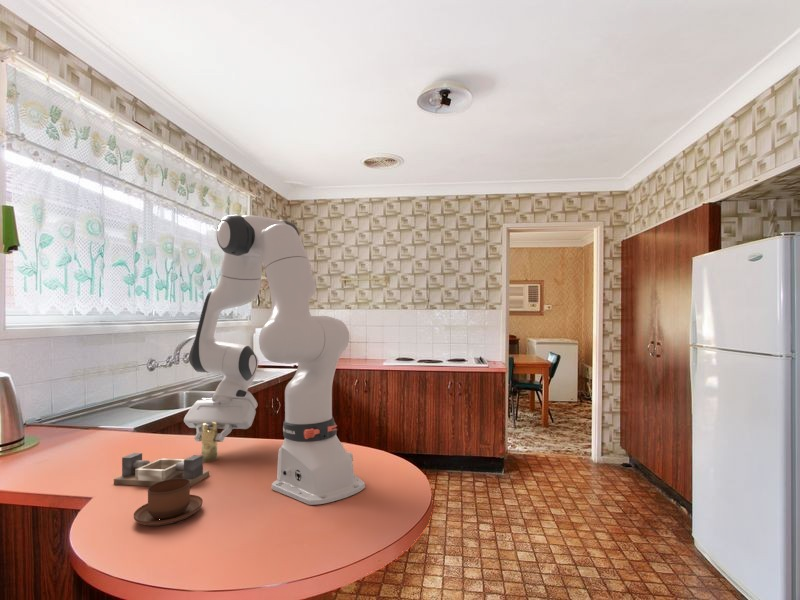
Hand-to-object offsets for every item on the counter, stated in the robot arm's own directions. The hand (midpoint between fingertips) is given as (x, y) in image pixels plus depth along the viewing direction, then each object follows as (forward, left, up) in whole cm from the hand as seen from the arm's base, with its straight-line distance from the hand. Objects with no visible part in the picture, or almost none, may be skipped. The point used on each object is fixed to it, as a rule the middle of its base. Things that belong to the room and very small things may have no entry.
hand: (208, 440), depth 117 cm
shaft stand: (-8, +13, -5) cm, 16 cm away
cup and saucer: (-31, +15, -6) cm, 35 cm away
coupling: (0, 0, -5) cm, 5 cm away
